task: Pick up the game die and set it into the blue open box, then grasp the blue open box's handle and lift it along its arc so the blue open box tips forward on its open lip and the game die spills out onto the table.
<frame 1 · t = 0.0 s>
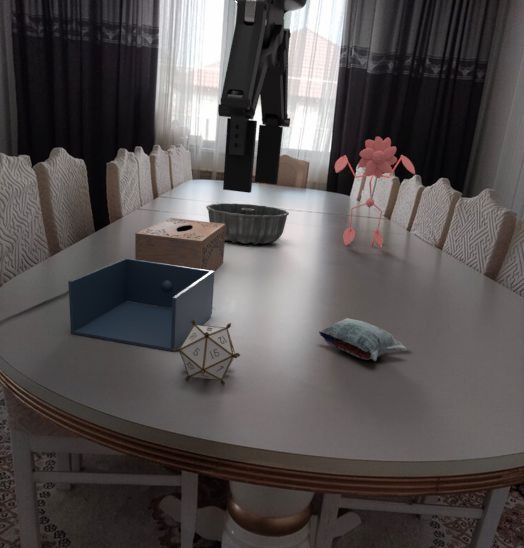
hand: (253, 187, 58), 26 cm above the table, tool pointing down, fingers open, 13 cm apart
figurine: (363, 249, 174), on the table
bundt pan: (245, 240, 169), on the table
tissue box cover: (183, 270, 125), on the table
game die: (206, 380, 71), on the table
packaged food: (359, 353, 86), on the table
blue open box: (146, 324, 88), on the table
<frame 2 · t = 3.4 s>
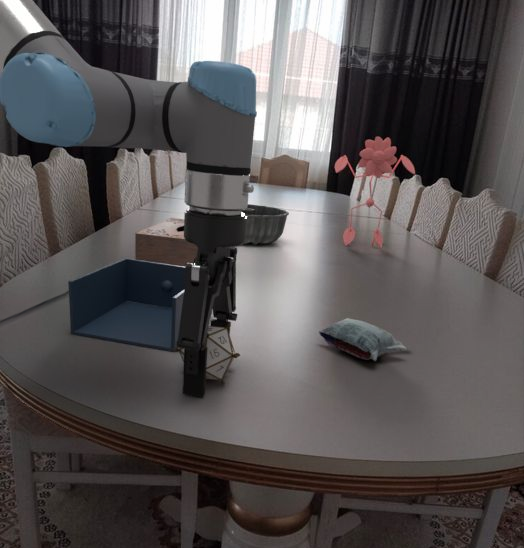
hand: (206, 377, 70), 0 cm above the table, tool pointing down, fingers closed on game die, 10 cm apart
game die: (206, 380, 71), on the table, touching gripper
everything else where it was.
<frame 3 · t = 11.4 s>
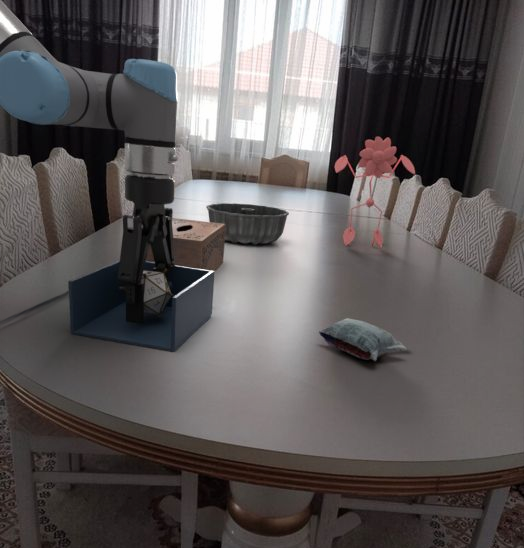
hand: (148, 313, 88), 2 cm above the table, tool pointing down, fingers closed on game die, 10 cm apart
game die: (148, 315, 88), point 1 cm above the table, touching gripper
everything else where it was.
when the fingers open (2 cm above the table, at t = 17.0 s): game die drops 2 cm, resting on blue open box.
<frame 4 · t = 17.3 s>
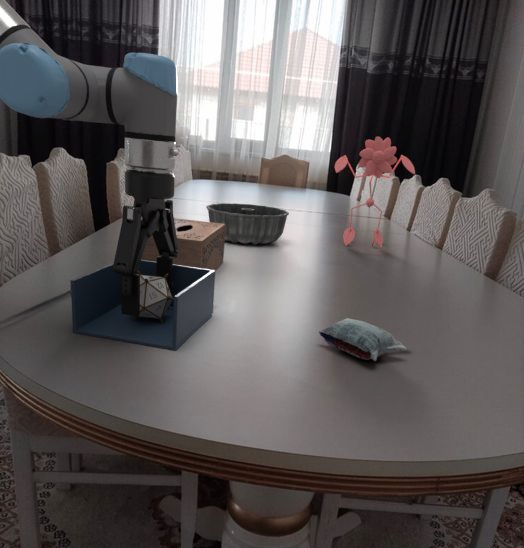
hand: (148, 303, 87), 4 cm above the table, tool pointing down, fingers open, 13 cm apart
game die: (149, 320, 89), resting on blue open box
blue open box: (147, 323, 88), on the table, touching game die, gripper
everything else where it was.
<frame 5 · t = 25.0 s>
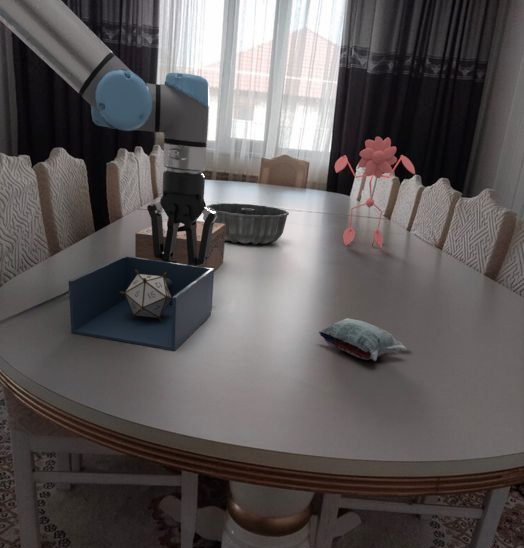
hand: (179, 295, 102), 1 cm above the table, tool pointing down, fingers closed on blue open box, 3 cm apart
blue open box: (146, 323, 88), on the table, touching game die, gripper
everything else where it was.
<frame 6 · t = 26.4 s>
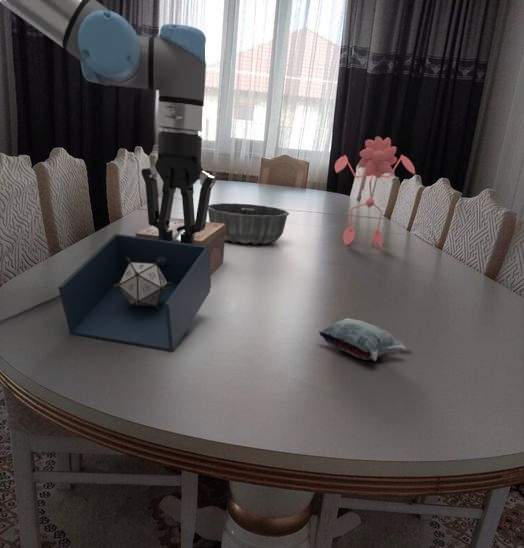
hand: (175, 266, 97), 7 cm above the table, tool pointing down, fingers closed on blue open box, 3 cm apart
game die: (146, 305, 87), point 3 cm above the table, touching blue open box
blue open box: (144, 311, 87), point 3 cm above the table, tilted 16°, touching game die, gripper
everything else where it was.
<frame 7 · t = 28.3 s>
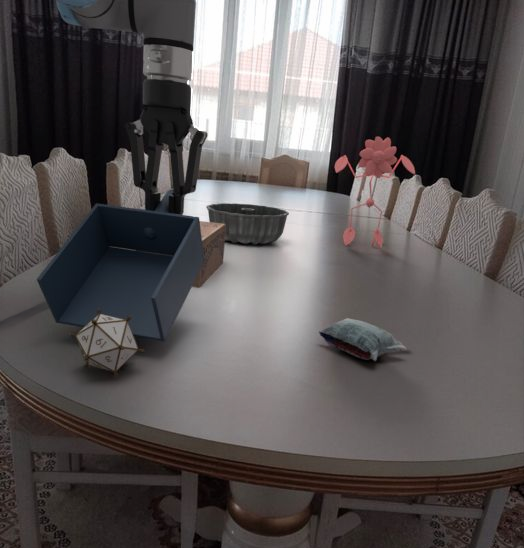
hand: (163, 233, 89), 14 cm above the table, tool pointing down, fingers closed on blue open box, 3 cm apart
game die: (99, 342, 64), point 6 cm above the table
blue open box: (133, 291, 81), point 7 cm above the table, tilted 27°, touching gripper
everything else where it was.
when the fingers open (6 cm above the table, at t = 34.8 s): blue open box drops 2 cm, on the table.
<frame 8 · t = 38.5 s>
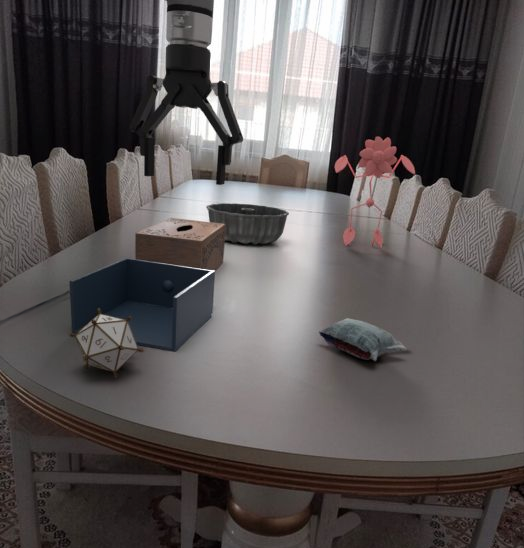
hand: (184, 180, 94), 23 cm above the table, tool pointing down, fingers open, 13 cm apart
blue open box: (147, 324, 88), on the table
everything else where it was.
at the end: game die touching table; the gripper is holding nothing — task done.
